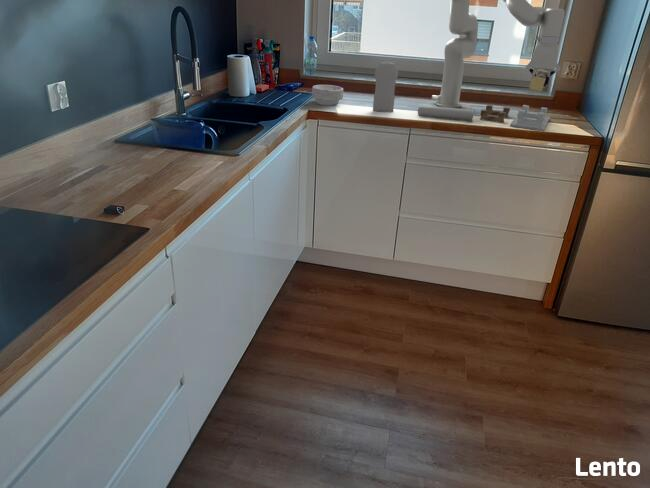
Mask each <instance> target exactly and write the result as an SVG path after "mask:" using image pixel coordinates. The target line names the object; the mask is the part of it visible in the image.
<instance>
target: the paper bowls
mask: <svg viewBox="0 0 650 488" xmlns="http://www.w3.org/2000/svg"><path fill="white" fill-rule="evenodd" d="M311 90H312V91H311V97H312V98H313V99H315V101H316V103H317V104H318V105H322V106H336V105H337V104H338V103H339V101H341V100H343V98H344V87H341V86H340V85H339V86H338V85H332V84H316V85H312V88H311Z"/></svg>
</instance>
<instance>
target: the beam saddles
mask: <svg viewBox="0 0 650 488" xmlns="http://www.w3.org/2000/svg"><path fill="white" fill-rule="evenodd" d="M493 107H494V106H493V104H486V107H485V108H483V109H481V110H480V118H479V119H480V121H481V120H483V121H487V122H488V121H490V122H497V123H503V122H504V121H505V118H507V117H509V113H510V111H511V107H508V106H504V107H503V110H499V109H498V110H497V109H493Z"/></svg>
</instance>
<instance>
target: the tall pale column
mask: <svg viewBox="0 0 650 488" xmlns="http://www.w3.org/2000/svg"><path fill="white" fill-rule="evenodd" d="M377 65H378V66H377V68H376V69H375V71H374V79H375V89H374V91H375V92H374V94H373V103H372V112H380V113H393V112H394V107H395V98H396V97H395V90H396V89H395V88H396V83H397V81H396V80H398V77H399V70H397V66H396V65H397V64H396V63H393V62H390V61H385V62H378V64H377Z"/></svg>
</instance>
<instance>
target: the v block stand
mask: <svg viewBox="0 0 650 488" xmlns="http://www.w3.org/2000/svg"><path fill="white" fill-rule="evenodd" d="M529 108H530V105H527V104H523V105H522V108H521V109H519V110H518V113H517V114H516V116H515V118H514V119H513V120H512V121H511V122H510V125H509V127H512V128H518V129H525V130H532V131H539V132H540V131H541V132H544V131H545V130H546V127H547V125H548V123H549V121H550V118H551V117H550V116H546V115H547V111H548V107H543V106H542V107H541V108H540V111H538V113H537V112H530V111H529Z"/></svg>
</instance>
